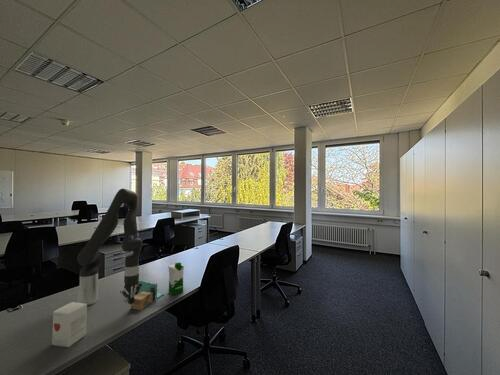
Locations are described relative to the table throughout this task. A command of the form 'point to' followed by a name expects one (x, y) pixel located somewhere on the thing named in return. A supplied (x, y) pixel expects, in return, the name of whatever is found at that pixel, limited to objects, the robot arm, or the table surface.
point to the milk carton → (176, 278)
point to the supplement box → (69, 324)
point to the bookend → (150, 288)
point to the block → (142, 300)
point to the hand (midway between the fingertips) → (131, 303)
